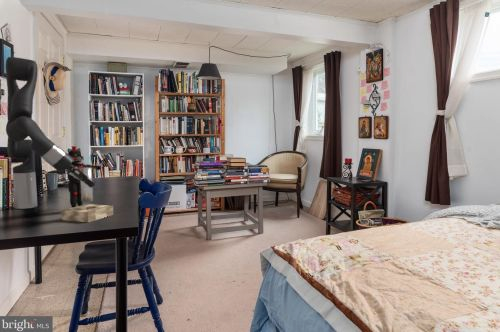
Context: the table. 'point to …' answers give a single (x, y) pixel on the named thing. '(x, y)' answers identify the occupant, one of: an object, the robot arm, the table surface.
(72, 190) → the toy
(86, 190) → the pin
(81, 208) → the socket
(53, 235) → the table surface
